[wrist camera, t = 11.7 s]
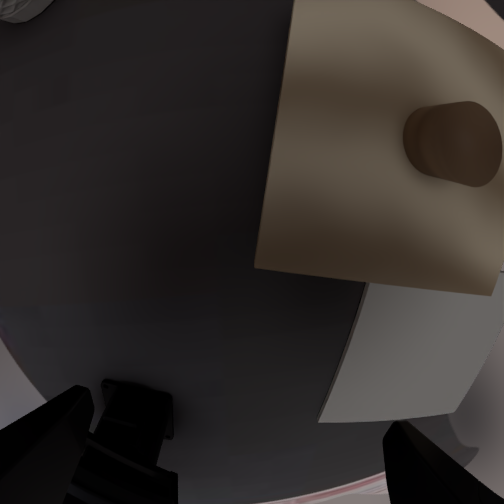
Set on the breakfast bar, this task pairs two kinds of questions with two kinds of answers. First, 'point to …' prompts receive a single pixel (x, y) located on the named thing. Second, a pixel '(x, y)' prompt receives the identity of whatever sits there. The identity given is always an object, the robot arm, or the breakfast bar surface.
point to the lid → (387, 150)
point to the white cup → (21, 9)
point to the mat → (412, 353)
